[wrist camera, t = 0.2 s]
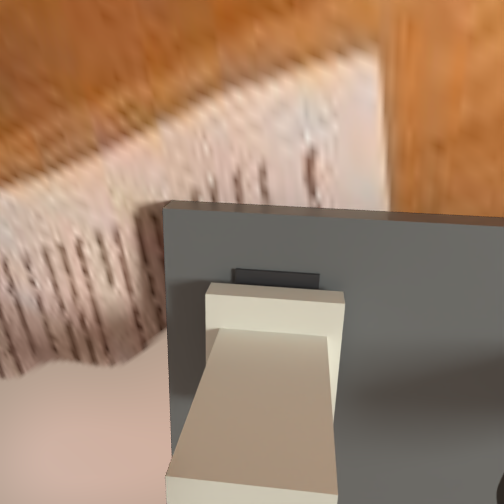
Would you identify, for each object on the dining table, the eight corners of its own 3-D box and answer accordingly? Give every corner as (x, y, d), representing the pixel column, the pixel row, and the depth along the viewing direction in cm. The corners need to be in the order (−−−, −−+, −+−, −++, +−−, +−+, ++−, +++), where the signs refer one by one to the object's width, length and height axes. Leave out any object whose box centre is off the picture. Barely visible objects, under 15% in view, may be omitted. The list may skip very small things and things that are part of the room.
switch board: (172, 200, 22) (160, 210, 20) (805, 233, 19) (855, 248, 17) (181, 504, 28) (172, 532, 26) (665, 560, 25) (692, 596, 23)
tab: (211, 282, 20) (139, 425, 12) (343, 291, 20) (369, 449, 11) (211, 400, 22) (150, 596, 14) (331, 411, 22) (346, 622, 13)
